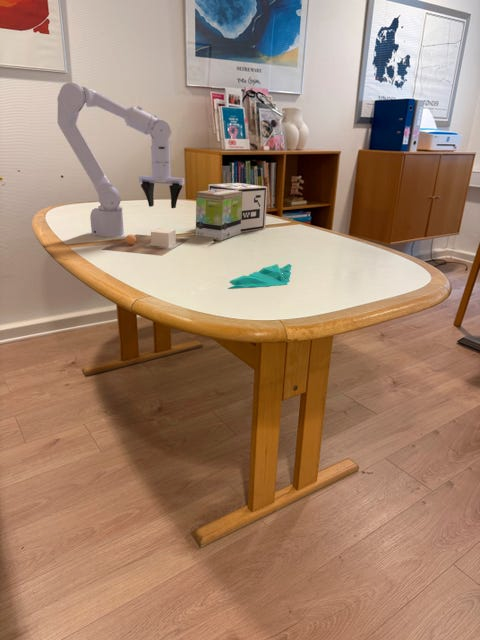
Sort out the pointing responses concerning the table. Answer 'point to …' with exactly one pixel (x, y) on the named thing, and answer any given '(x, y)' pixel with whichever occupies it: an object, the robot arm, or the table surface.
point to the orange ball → (130, 239)
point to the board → (143, 246)
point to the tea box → (218, 213)
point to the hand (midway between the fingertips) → (162, 207)
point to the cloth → (264, 278)
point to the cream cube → (163, 237)
